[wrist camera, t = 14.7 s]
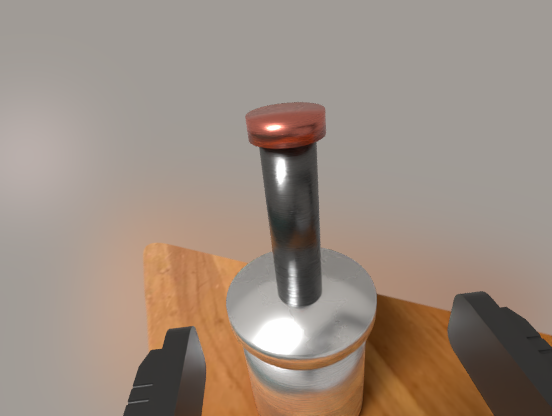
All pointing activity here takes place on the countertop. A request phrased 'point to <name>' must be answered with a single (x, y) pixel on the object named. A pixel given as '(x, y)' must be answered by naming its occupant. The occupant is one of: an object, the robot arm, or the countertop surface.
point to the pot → (308, 387)
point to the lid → (297, 256)
